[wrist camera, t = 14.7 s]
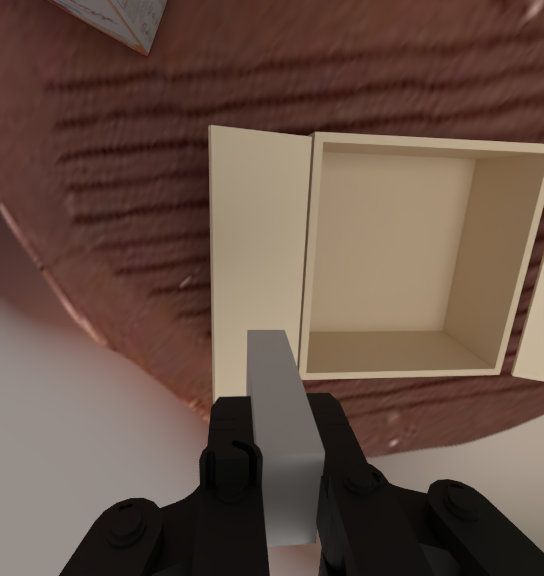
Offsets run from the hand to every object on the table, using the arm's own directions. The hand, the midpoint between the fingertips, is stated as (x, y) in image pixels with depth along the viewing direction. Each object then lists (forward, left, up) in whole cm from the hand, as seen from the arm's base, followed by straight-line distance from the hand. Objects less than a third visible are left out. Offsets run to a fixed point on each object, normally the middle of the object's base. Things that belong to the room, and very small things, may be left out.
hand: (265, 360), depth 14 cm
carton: (0, +15, -26) cm, 31 cm away
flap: (0, +5, -16) cm, 17 cm away
